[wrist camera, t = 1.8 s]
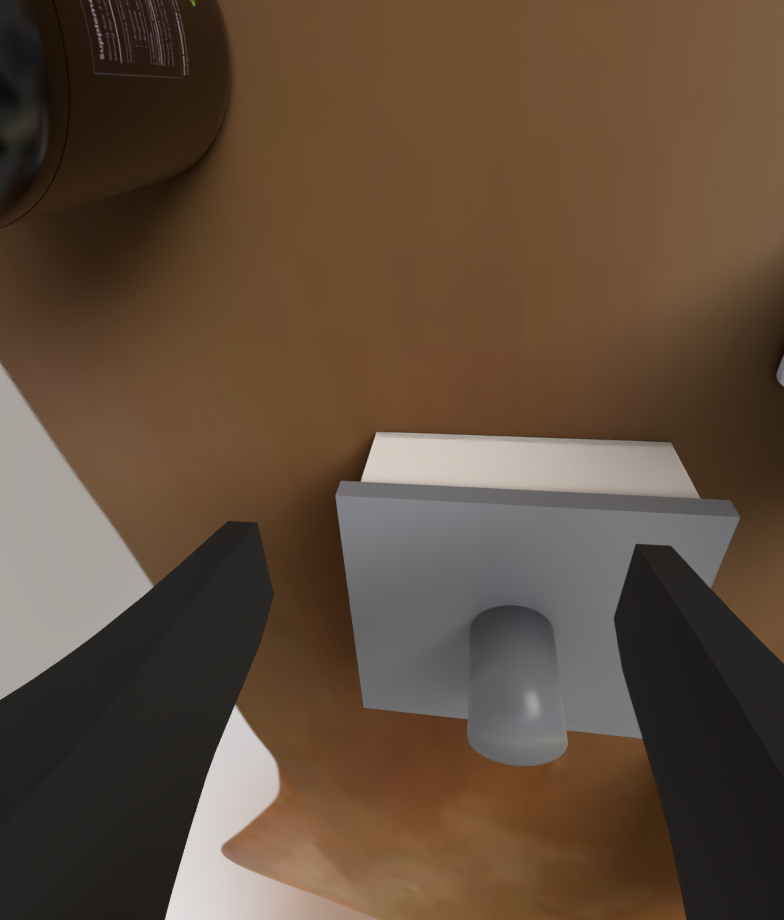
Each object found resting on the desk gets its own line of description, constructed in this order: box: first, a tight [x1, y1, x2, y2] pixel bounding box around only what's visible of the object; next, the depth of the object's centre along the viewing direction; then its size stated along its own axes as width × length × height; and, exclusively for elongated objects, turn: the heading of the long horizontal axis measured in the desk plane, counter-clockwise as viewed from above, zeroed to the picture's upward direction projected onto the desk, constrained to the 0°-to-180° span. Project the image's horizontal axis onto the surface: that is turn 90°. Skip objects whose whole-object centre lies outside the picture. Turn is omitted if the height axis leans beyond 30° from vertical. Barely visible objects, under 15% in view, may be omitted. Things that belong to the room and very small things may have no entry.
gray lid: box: [335, 481, 740, 766], centre depth 18 cm, size 12×12×5 cm
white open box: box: [361, 432, 700, 498], centre depth 22 cm, size 11×11×4 cm
